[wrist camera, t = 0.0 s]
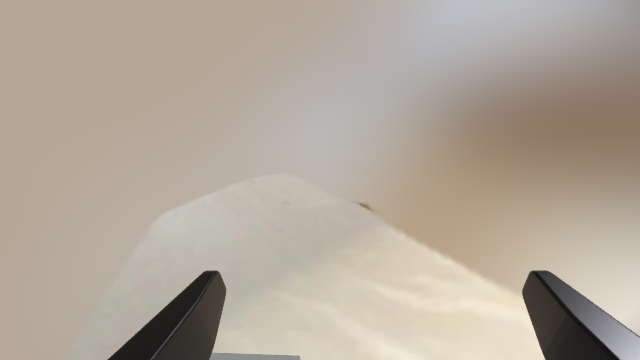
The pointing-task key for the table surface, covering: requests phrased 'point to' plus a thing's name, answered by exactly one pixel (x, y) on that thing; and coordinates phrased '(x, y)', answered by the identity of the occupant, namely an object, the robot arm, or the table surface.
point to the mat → (250, 357)
